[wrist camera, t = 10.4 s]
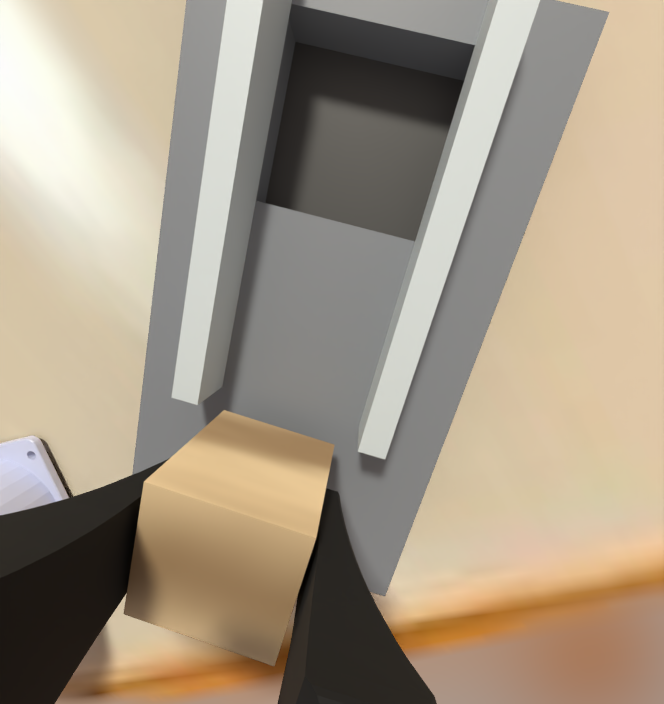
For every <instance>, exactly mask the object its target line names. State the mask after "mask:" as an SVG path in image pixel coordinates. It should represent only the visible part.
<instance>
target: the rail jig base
mask: <svg viewBox="0 0 664 704" xmlns="http://www.w3.org/2000/svg"><path fill="white" fill-rule="evenodd" d="M608 14H609V12H606V11H602V10H597V9H593V8H588V7H583V6H579V5H574V4H570V3H565V2H560V1H556V0H187V1H186V9H185V18H184V27H183V36H182V44H181V53H180V62H179V71H178V79H177V88H176V97H175V106H174V115H173V123H172V132H171V141H170V150H169V158H168V167H167V176H166V185H165V194H164V202H163V211H162V220H161V229H160V237H159V246H158V255H157V264H156V272H155V281H154V290H153V299H152V308H151V316H150V325H149V334H148V343H147V351H146V360H145V369H144V378H143V386H142V395H141V404H140V413H139V422H138V430H137V439H136V448H135V457H134V465H133V474H132V475H134V474H136V473H139V472H141V471H143V470H145V469H147V468H150V467H152V466H154V465H156V464H158V463H161V462H163V461H165V460H167V459H169V458H171V457H172V456H173V455H174V454H175V453H176V452H178V451H179V450H180V449H181V448H182V447H183V446H184V445H185V444H187V443H188V442H189V441H190V440H191V439H192V438H193V437H194V436H196V435H197V434H198V433H199V432H200V431H201V430H202V429H203V428H205V427H206V426H207V425H208V424H209V423H210V422H211V421H212V420H213V419H215V418H216V417H217V416H218V415H219V414H220V413H221V412H222V411H224V410H226V411H229V412H232V413H235V414H239V415H242V416H245V417H248V418H251V419H254V420H258V421H261V422H264V423H267V424H270V425H274V426H277V427H280V428H283V429H286V430H289V431H293V432H296V433H299V434H302V435H305V436H308V437H312V438H315V439H318V440H321V441H324V442H328V443H331V444H334V450H333V455H332V460H331V466H330V471H329V476H328V481H327V486H326V488H327V489H331V490H334V491H338V493H339V495H340V502H341V508H342V513H343V517H344V522H345V525H346V529H347V532H348V536H349V539H350V543H351V546H352V549H353V552H354V554H355V557H356V560H357V563H358V565H359V568H360V571H361V573H362V575H363V578H364V580H365V582H366V585H367V587H368V589H369V591H370V592H373V593H376V594H379V595H382V596H385V595H386V592H387V589H388V587H389V584H390V582H391V579H392V576H393V574H394V571H395V569H396V566H397V563H398V561H399V558H400V556H401V553H402V550H403V548H404V545H405V543H406V540H407V537H408V535H409V532H410V530H411V527H412V524H413V522H414V519H415V517H416V514H417V511H418V509H419V506H420V504H421V501H422V498H423V496H424V493H425V491H426V488H427V485H428V483H429V480H430V478H431V475H432V472H433V470H434V467H435V465H436V462H437V459H438V457H439V454H440V452H441V449H442V446H443V444H444V441H445V439H446V436H447V433H448V431H449V428H450V426H451V423H452V420H453V418H454V415H455V412H456V410H457V407H458V405H459V402H460V399H461V397H462V394H463V392H464V389H465V386H466V384H467V381H468V379H469V376H470V373H471V371H472V368H473V366H474V363H475V360H476V358H477V355H478V353H479V350H480V347H481V345H482V342H483V340H484V337H485V334H486V332H487V329H488V327H489V324H490V321H491V319H492V316H493V314H494V311H495V308H496V306H497V303H498V301H499V298H500V295H501V293H502V290H503V288H504V285H505V282H506V280H507V277H508V275H509V272H510V269H511V267H512V264H513V262H514V259H515V256H516V254H517V251H518V248H519V246H520V243H521V241H522V238H523V235H524V233H525V230H526V228H527V225H528V222H529V220H530V217H531V215H532V212H533V209H534V207H535V204H536V202H537V199H538V196H539V194H540V191H541V189H542V186H543V183H544V181H545V178H546V176H547V173H548V170H549V168H550V165H551V163H552V160H553V157H554V155H555V152H556V150H557V147H558V144H559V142H560V139H561V137H562V134H563V131H564V129H565V126H566V124H567V121H568V118H569V116H570V113H571V111H572V108H573V105H574V103H575V100H576V98H577V95H578V92H579V90H580V87H581V85H582V82H583V79H584V77H585V74H586V71H587V69H588V66H589V64H590V61H591V58H592V56H593V53H594V51H595V48H596V45H597V43H598V40H599V38H600V35H601V32H602V30H603V27H604V25H605V22H606V19H607V17H608Z"/></svg>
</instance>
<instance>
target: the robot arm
mask: <svg viewBox="0 0 664 704" xmlns="http://www.w3.org/2000/svg"><path fill="white" fill-rule="evenodd" d="M169 459H170V458H169ZM169 459H167V460H165V461H163V462H161V463H158V464H156V465H154V466H152V467H150V468H147V469H145V470H143V471H141V472H139V473H136V474H134V475H131V476H129V477H126V478H124V479H121V480H119V481H117V482H114V483H112V484H109V485H106V486H104V487H101V488H98V489H95V490H93V491H90V492H86V493H83V494H80V495H77V496H74V497H71V498H69V497H68V495H67V493H66V491H65V488H64V486H63V484H62V482H61V480H60V478H59V476H58V474H57V472H56V470H55V468H54V466H53V464H52V462H51V460H50V458H49V456H48V454H47V452H46V450H45V448H44V446H43V444H42V442H41V440H40V439H39V438H38V437H35V436H27V437H23V438H19V439H15V440H11V441H7V442H3V443H0V704H55V702H56V700H57V699H58V697H59V696H60V694H61V692H62V691H63V689H64V688H65V686H66V684H67V683H68V681H69V680H70V678H71V677H72V675H73V673H74V672H75V670H76V669H77V667H78V665H79V664H80V662H81V661H82V659H83V658H84V656H85V655H86V653H87V652H88V650H89V648H90V647H91V645H92V644H93V642H94V641H95V639H96V638H97V636H98V635H99V633H100V632H101V630H102V629H103V627H104V626H105V624H106V623H107V621H108V620H109V618H110V617H111V615H112V614H113V612H114V611H115V609H116V608H117V606H118V605H119V603H120V602H121V600H122V599H123V597H124V596H125V594H126V593H127V589H128V582H129V576H130V569H131V562H132V556H133V549H134V543H135V536H136V530H137V523H138V517H139V510H140V504H141V497H142V491H143V484H144V481H145V480H146V479H147V478H148V477H150V476H151V475H152V474H153V473H154V472H155V471H156V470H157V469H159V468H160V467H161V466H162V465H163V464H164V463H165V462H166V461H168V460H169ZM278 704H437V703H436V700H435V697H434V695H433V694H432V692H431V691H430V690H429V688H428V687H427V685H426V684H425V683H424V681H423V680H422V678H421V677H420V676H419V674H418V673H417V671H416V670H415V668H414V667H413V666H412V664H411V663H410V661H409V660H408V659H407V657H406V656H405V654H404V652H403V651H402V649H401V648H400V646H399V645H398V643H397V641H396V640H395V638H394V636H393V635H392V633H391V631H390V629H389V627H388V626H387V624H386V622H385V620H384V618H383V617H382V615H381V613H380V611H379V609H378V608H377V606H376V604H375V602H374V599H373V597H372V595H371V593H370V591H369V589H368V587H367V585H366V582H365V580H364V578H363V575H362V573H361V571H360V568H359V565H358V563H357V560H356V557H355V554H354V552H353V549H352V546H351V543H350V539H349V536H348V532H347V529H346V525H345V522H344V517H343V513H342V508H341V502H340V495H339V493H338V491H334V490H331V489H327V488H326V491H325V496H324V501H323V506H322V511H321V516H320V522H319V527H318V532H317V537H316V540H315V544H314V547H313V550H312V553H311V556H310V559H309V562H308V565H307V568H306V571H305V574H304V577H303V580H302V583H301V586H300V589H299V592H298V598H297V605H296V612H295V619H294V626H293V633H292V638H291V644H290V649H289V654H288V658H287V663H286V668H285V672H284V677H283V681H282V686H281V691H280V695H279V700H278Z"/></svg>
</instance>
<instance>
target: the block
mask: <svg viewBox="0 0 664 704" xmlns="http://www.w3.org/2000/svg"><path fill="white" fill-rule="evenodd" d="M333 450H334V444H331V443H328V442H324V441H321V440H318V439H315V438H312V437H308V436H305V435H302V434H299V433H296V432H293V431H289V430H286V429H283V428H280V427H277V426H274V425H270V424H267V423H264V422H261V421H258V420H254V419H251V418H248V417H245V416H242V415H239V414H235V413H232V412H229V411H226V410H224V411H222V412H221V413H220V414H219V415H218V416H217V417H216V418H215V419H213V420H212V421H211V422H210V423H209V424H208V425H207V426H206V427H205V428H203V429H202V430H201V431H200V432H199V433H198V434H197V435H196V436H194V437H193V438H192V439H191V440H190V441H189V442H188V443H187V444H185V445H184V446H183V447H182V448H181V449H180V450H179V451H178V452H176V453H175V454H174V455H173V456H172V457H171V458H170V459H169V460H168V461H166V462H165V463H164V464H163V465H162V466H161V467H160V468H159V469H157V470H156V471H155V472H154V473H153V474H152V475H151V476H150V477H148V478H147V479H146V480H145V481H144V484H143V491H142V497H141V504H140V510H139V517H138V523H137V530H136V536H135V543H134V549H133V556H132V562H131V569H130V576H129V582H128V589H127V595H126V602H125V608H124V614H125V615H128V616H131V617H134V618H137V619H139V620H142V621H145V622H148V623H151V624H154V625H157V626H159V627H162V628H165V629H168V630H171V631H174V632H177V633H180V634H182V635H185V636H188V637H191V638H194V639H197V640H200V641H203V642H205V643H208V644H211V645H214V646H217V647H220V648H223V649H225V650H228V651H231V652H234V653H237V654H240V655H243V656H246V657H248V658H251V659H254V660H257V661H260V662H263V663H266V664H269V665H271V666H275V663H276V660H277V657H278V653H279V650H280V647H281V644H282V641H283V638H284V635H285V632H286V629H287V626H288V623H289V620H290V617H291V614H292V611H293V608H294V605H295V602H296V598H297V595H298V592H299V589H300V586H301V583H302V580H303V577H304V574H305V571H306V568H307V565H308V562H309V559H310V556H311V553H312V550H313V547H314V544H315V540H316V537H317V532H318V527H319V522H320V516H321V511H322V506H323V501H324V496H325V491H326V486H327V481H328V476H329V471H330V466H331V460H332V455H333Z"/></svg>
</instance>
